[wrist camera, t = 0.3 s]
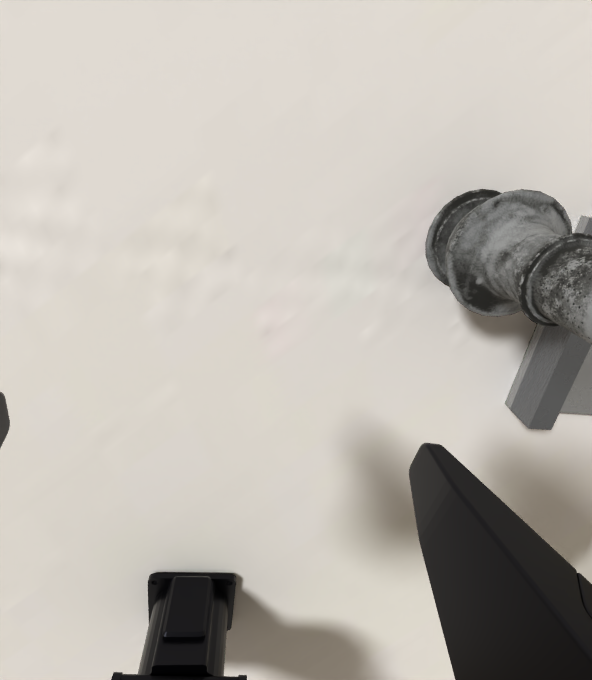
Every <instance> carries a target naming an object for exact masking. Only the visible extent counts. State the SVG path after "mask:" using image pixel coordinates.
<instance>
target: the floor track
mask: <svg viewBox="0 0 592 680" xmlns="http://www.w3.org/2000/svg"><path fill="white" fill-rule="evenodd" d="M575 233H585V234H591V235H592V217H587V216H581V218H580V221H579V223H578V226H577V228H576V231H575ZM505 404H506V405H507V407H508V408H509V409H510V410H511V411H512V412H513V413H514V414H515V415H516V416H517V417H518V418H519V419H520V420H521V421H522V422H523V423H524V424H525V425H526V427H527V428H530V429H546V430H551V429H552V427H553V425H554V423H555V421H556V419H557V416H558V414H559V413H573V414H588V415H592V344H590V343H588V342H587V341H585V340H583V339H582V338H580V337H578V336H577V335H575V334H573V333H572V332H570V331H568V330H567V329H565V328H563V327H562V326H554V327H553V326H543V325H540V324H537V326H536V329H535V331H534V334H533V336H532V339H531V341H530V344H529V346H528V348H527V351H526V353H525V356H524V358H523V361H522V363H521V366H520V368H519V371H518V373H517V375H516V378H515V380H514V383H513V385H512V388H511V390H510V393H509V395H508V398H507V400H506V402H505Z"/></svg>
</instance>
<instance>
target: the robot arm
mask: <svg viewBox="0 0 592 680" xmlns="http://www.w3.org/2000/svg"><path fill="white" fill-rule="evenodd" d="M9 426H10V420H9V415H8V410H7V404H6V399H5V396H4V394H3V393H2V392H0V448H1V446H2V444H3V442H4V440H5V438H6V436H7V433H8V431H9ZM409 478H410V485H411V491H412V498H413V504H414V511H415V517H416V524H417V530H418V536H419V541H420V545H421V549H422V553H423V557H424V561H425V565H426V568H427V572H428V576H429V580H430V584H431V588H432V591H433V595H434V599H435V603H436V607H437V611H438V615H439V618H440V622H441V626H442V630H443V634H444V638H445V641H446V645H447V649H448V653H449V657H450V661H451V665H452V668H453V672H454V676H455V680H592V584H591V583H590V582H589V581H587V580H586V578H584V577H583V576H582V575H581V574H580V573H577V572H576V569H575V568H574V567H572V566H571V565H570V564H569V563H568V562H567V561H566V560H565V559H564V558H563V557H562V556H561V555H560V554H558V553H557V552H556V551H555V550H554V549H553V548H552V547H551V546H550V545H549V544H548V543H547V542H546V541H544V540H543V539H542V538H541V537H540V536H539V535H538V534H537V533H536V532H535V531H534V530H533V529H531V528H530V527H529V526H528V525H527V524H526V523H525V522H524V521H523V520H522V519H521V518H520V517H519V516H517V515H516V514H515V513H514V512H513V511H512V510H511V509H510V508H509V507H508V506H507V505H506V504H505V503H503V502H502V501H501V500H500V499H499V498H498V497H497V496H496V495H495V494H494V493H493V492H492V491H491V490H489V489H488V488H487V487H486V486H485V485H484V484H483V483H482V482H481V481H480V480H479V479H478V478H476V477H475V476H474V475H473V474H472V473H471V472H470V471H469V470H468V469H467V468H466V467H465V466H464V465H462V464H461V463H460V462H459V461H458V460H457V459H456V458H455V457H454V456H453V455H452V454H451V453H450V452H448V451H447V450H446V449H445V448H444V447H443V446H442V445H439V444H433V443H424V444H422V445H421V447H420V448H419V450H418V452H417V454H416V456H415V458H414V460H413V462H412V464H411V466H410V469H409ZM235 587H236V576H235V575H233V574H188V573H153V574H151V575H150V576H149V580H148V606H149V627H148V632H147V636H146V640H145V645H144V649H143V653H142V658H141V662H140V667H139V671H138V675H136V674H122V672H114V673H113V676H112V679H111V680H247V675H239V676H238V677H227V676H224V663H225V648H226V633H227V631H228V630H230V629H231V624H232V614H233V605H234V596H235Z"/></svg>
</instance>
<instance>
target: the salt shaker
mask: <svg viewBox="0 0 592 680" xmlns="http://www.w3.org/2000/svg"><path fill="white" fill-rule="evenodd" d="M426 258H427V261H428V265H429V268H430V269H431V271H432V272H433V274H434V275H435V276H436V277H437V278H438V279H439V280H441V281H442V282H443V283H444V284H446V285H449V286H450V289H451V291H452V293H453V294H454V296H455V297H456V299H457V300H458V301H459V302H460V303H461V304H462V305H464V306H465V307H466V308H467V309H469V310H470V311H473V312H475V313H478V314H480V315H484V316H496V317H498V316H504V315H510V314H514V313H517V312H519V311H521V310H523V312H524V314H525V315H526V316H527V317H528V318H529V319H530V320H532V321H533V322H535V323H538V324H540V325H543V326H553V327H554V326H562V327H563V328H565V329H567V330H568V331H570V332H572V333H573V334H575V335H577V336H578V337H580V338H582V339H583V340H585V341H587V342H588V343H590V344H592V235H591V234H585V233H573V234H572V226H571V222H570V219H569V217H568V215H567V213H566V211H565V209H564V208H563V207H562V206H561V205H560V204H559V203H558V202H557V201H556V200H555V199H554V198H553V197H551V196H548V195H546V194H544V193H542V192H540V191H532V190H524V189H521V190H515V191H509V192H504V193H500V192H498V191H494V190H486V189H480V190H474V191H469V192H466V193H464V194H462V195H460V196H457V197H456V198H454V199H453V200H452V201H450V202H449V203H448V204H446V205H445V206H444V207H443V208H442V210H441V211H440V212H439V213H438V214H437V216H436V217H435V219H434V221H433V223H432V225H431V227H430V229H429V231H428V235H427V239H426Z"/></svg>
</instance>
